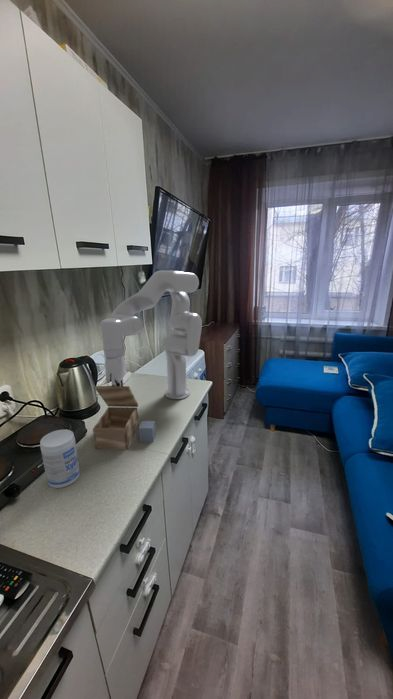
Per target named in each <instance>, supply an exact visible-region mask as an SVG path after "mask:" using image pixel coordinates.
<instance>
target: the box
mask: <svg viewBox="0 0 393 699" xmlns="http://www.w3.org/2000/svg"><path fill="white" fill-rule="evenodd" d="M138 414H139V413H138V407H110V406H108V407H107V408H106V410H105V411H104V412H103V414H102V415H101V417H100V418H99V420H98V421H97V423H95V425H94V427H93V428H92V432H93V441H94V442H93V443H94V447H95V449H111V450H112V449H114V450H115V449H119V450H128V449H129V447H130V445H131V442H132V441H133V438H134V435H135V434H136V431H137V429H138V428H139V426H140V423H139V416H138Z"/></svg>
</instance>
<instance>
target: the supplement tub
mask: <svg viewBox="0 0 393 699" xmlns="http://www.w3.org/2000/svg"><path fill="white" fill-rule="evenodd" d="M74 434H75V433H74V432H73V430H70V429H58V430H53V431H51V432H49V433H47V434H45V435H43V437H42V438H41V439H40V441H39V444H40V445H39V448H40V451H41V452H40V453H41V458H42V463H43V469H44V472H45V473H44V474H45V476H46V481H47V484H48V485H49V487H51V488H55V489H59V488H60V489H61V488H64V487H68V486H70V485H72V484H73V483H75V482H76V481H77V480H78V479H79V477H80V474H81V470H80V469H81V468H80V463H79V457H78V456H79V455H78V449H77V443H76V438H75V435H74Z"/></svg>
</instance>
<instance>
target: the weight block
mask: <svg viewBox="0 0 393 699" xmlns="http://www.w3.org/2000/svg"><path fill="white" fill-rule="evenodd" d="M138 430H139V443H140V442H141V443H154V441H155V438H156V433H157V431H156V420H142V421H141V422H140V424H139V426H138Z"/></svg>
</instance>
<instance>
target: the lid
mask: <svg viewBox="0 0 393 699" xmlns="http://www.w3.org/2000/svg"><path fill="white" fill-rule="evenodd" d="M94 389H95V390H96V392H97V393H98V395H99V396H100V397H101V399H102V400H103V401H104V403H105V404H106V406H108V407H130V408H138V407H139V403H138V401H137V399H136V397H135V395H134V394H133V392H132V390H131V388H130V386H128V385H127V386H125V385H122V386H112V385H95V387H94Z"/></svg>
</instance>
